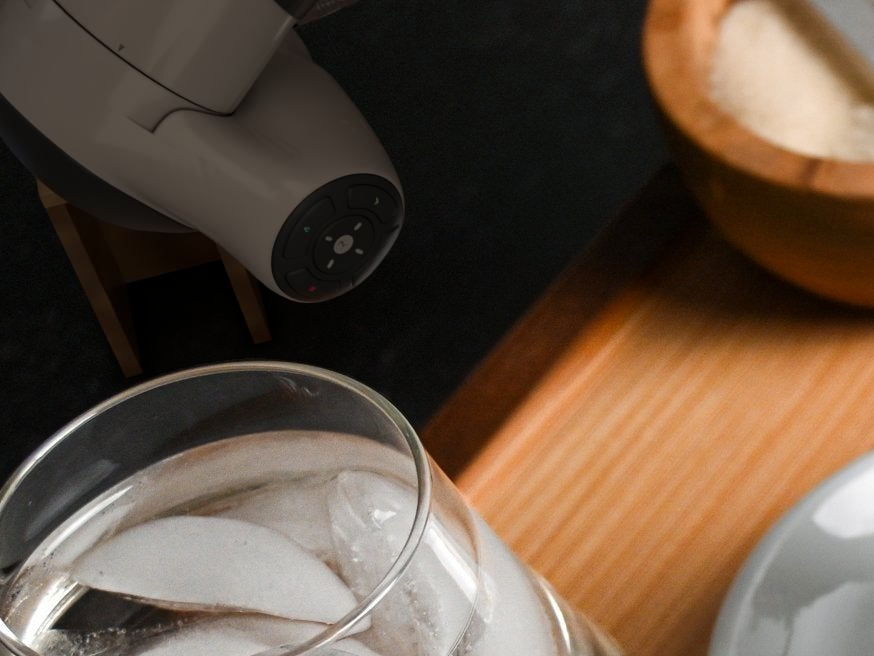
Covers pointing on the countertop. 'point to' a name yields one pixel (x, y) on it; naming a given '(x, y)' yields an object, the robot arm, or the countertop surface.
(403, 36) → the countertop surface
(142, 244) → the wooden chair
